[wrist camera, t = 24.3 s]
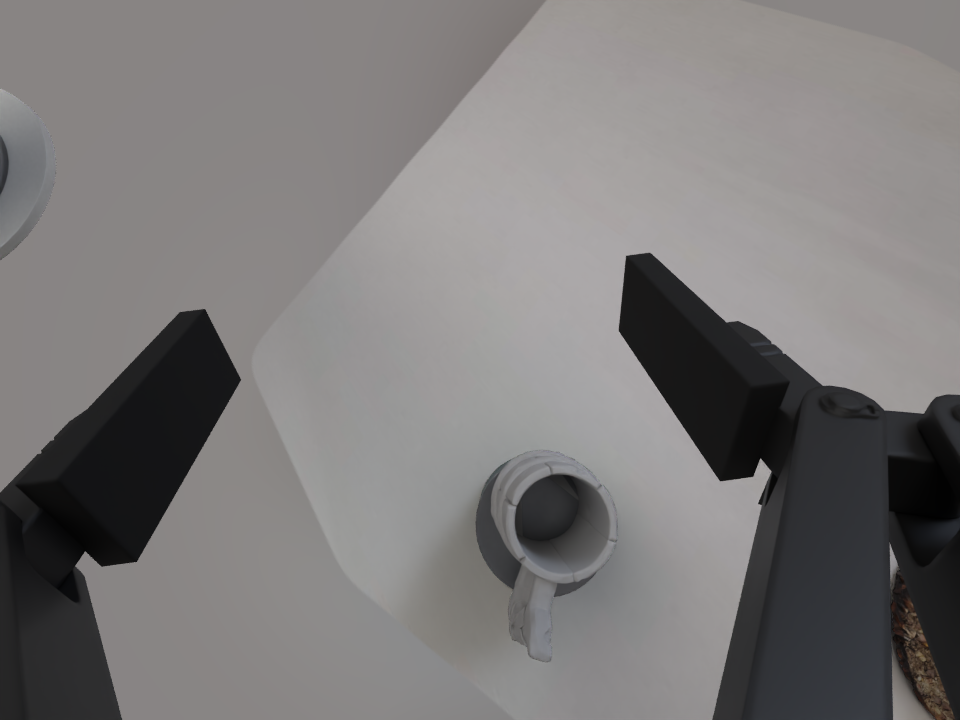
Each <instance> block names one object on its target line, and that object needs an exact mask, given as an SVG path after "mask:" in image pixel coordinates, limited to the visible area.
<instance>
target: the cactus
mask: <svg viewBox="0 0 960 720" xmlns="http://www.w3.org/2000/svg"><path fill="white" fill-rule="evenodd" d="M892 596H893V603H892V605H891V609H892V613H893V618H892V621H893V624H894V628H893V631H894V632H895V635H894V637H893V639H894V641H895V642H896V645H897V648H896V650H897V653H898V656H899V657H900V658H901V660H900V661H899V663H900V664H901V665H902V669H903V671H904V673H905V676H906V677H907V678H908V679H909V680H910V681H911V682H912V684H913V686H914V689H913V690H914V692H915V694H916V696H917V697H918V699H919V700H920V701H921V703H922V704H923V705H924V707H925V708H926V709H927V710H928V711H929V712H930V713H931V714H932V715H933V716H934V717H935V718H936V719H937V720H955V718H954V715H953V712H952V709H951V707H950V704H949V701H948V699H947V696H946V693H945V690H944V688H943V685H942V682H941V680H940V677H939V674H938V672H937V669H936V666H935V663H934V661H933V658H932V655H931V653H930V650H929V647H928V644H927V642H926V639H925V636H924V634H923V631H922V628H921V625H920V623H919V620H918V617H917V615H916V612H915V609H914V607H913V604H912V601H911V598H910V596H909V593H908V590H907V588H906V585H905V582H904V579H903V577H902V574H901V571H900V570H899V571H898V572H897V581H896V585H895V589H894V590H893V595H892Z"/></svg>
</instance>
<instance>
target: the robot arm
mask: <svg viewBox="0 0 960 720" xmlns="http://www.w3.org/2000/svg"><path fill="white" fill-rule="evenodd" d="M8 165H9V160H8V153H7V148H6V146H5V143H4V141H3V139H2V137H1V135H0V194H1V192H2V190H3V188H4V185H5V182H6V179H7V175H8ZM619 332H620V333H621V335H622V336H623V338H624V339H625V341H626V342H627V344H628V345H629V347H630V348H631V350H632V351H633V353H634V354H635V356H636V357H637V359H638V360H639V362H640V363H641V365H642V366H643V368H644V369H645V371H646V372H647V373H648V375H649V376H650V378H651V379H652V381H653V382H654V384H655V385H656V387H657V388H658V390H659V391H660V393H661V394H662V396H663V397H664V399H665V400H666V402H667V403H668V405H669V406H670V408H671V409H672V411H673V412H674V414H675V415H676V417H677V418H678V420H679V421H680V423H681V424H682V425H683V427H684V428H685V430H686V431H687V433H688V434H689V436H690V437H691V439H692V440H693V442H694V443H695V445H696V446H697V448H698V449H699V451H700V452H701V454H702V455H703V457H704V458H705V460H706V461H707V463H708V464H709V466H710V467H711V469H712V470H713V472H714V473H715V475H716V476H717V477H718V479H719V480H720V481H726V480H733V479H740V478H748V477H753V476H754V473H755V471H756V468H757V466H758V463H759V460H760V458H761V459H762V460H763V462H764V463H765V464H766V465H767V466H768V468H769V469H770V470H771V471H772V472H771V474H770V477H769V479H768V481H767V484H766V486H765V489H764V491H763V493H762V496H761V498H760V500H759V503H758V504H760V505H762V507H761V512H760V516H759V520H758V525H757V529H756V533H755V537H754V542H753V546H752V550H751V555H750V559H749V563H748V568H747V572H746V576H745V581H744V585H743V589H742V594H741V598H740V602H739V607H738V611H737V615H736V620H735V624H734V628H733V633H732V637H731V641H730V646H729V650H728V654H727V659H726V663H725V667H724V672H723V676H722V680H721V685H720V689H719V693H718V698H717V702H716V706H715V711H714V715H713V719H712V720H893V699H892V648H891V596H890V545H889V542H890V544H891V547H892V550H893V552H894V555H895V558H896V560H897V563H898V566H899V569H900V571H901V574H902V577H903V579H904V582H905V585H906V588H907V590H908V593H909V596H910V598H911V601H912V604H913V607H914V609H915V612H916V615H917V617H918V620H919V623H920V625H921V628H922V631H923V634H924V636H925V639H926V642H927V644H928V647H929V650H930V653H931V655H932V658H933V661H934V663H935V666H936V669H937V672H938V674H939V677H940V680H941V682H942V685H943V688H944V690H945V693H946V696H947V699H948V701H949V704H950V707H951V709H952V712H953V715H954V718H955V720H960V395H943V396H939V397H936V398H935V399H934V400H933V401H932V402H931V403H930V405H929V407H928V408H927V410H926V411H925V413H924V414H919V413H908V412H896V411H884V409H883V408H881V407H880V406H879V405H878V404H877V403H876V402H875V401H874V400H872V399H870V398H868V397H867V396H865V395H863V394H861V393H859V392H856V391H853V390H850V389H847V388H842V387H835V386H822V385H821V384H820V383H819V382H818V381H816V380H815V379H814V378H813V377H812V376H811V375H809V374H808V373H807V372H806V371H805V370H804V369H802V368H801V367H800V366H799V365H798V364H797V363H795V362H794V361H793V360H792V359H791V358H790V357H788V356H787V355H786V354H783V353H782V351H781V350H780V349H779V348H778V347H777V346H775V345H774V344H771V341H770V340H768V339H767V338H766V337H765V336H764V335H763V334H761V333H760V332H759V331H758V330H756V329H754V328H752V327H750V326H747V325H745V324H743V323H741V322H739V321H735V322H728V323H726V322H725V321H724V320H723V319H722V318H721V317H720V316H719V315H717V314H716V313H715V312H714V311H713V310H712V309H711V308H710V307H709V306H708V305H707V304H705V303H704V302H703V301H702V300H701V299H700V298H699V297H698V296H697V295H696V294H695V293H694V292H692V291H691V290H690V289H689V288H688V287H687V286H686V285H685V284H684V283H683V282H682V281H680V280H679V279H678V278H677V277H676V276H675V275H674V274H673V273H672V272H671V271H670V270H668V269H667V268H666V267H665V266H664V265H663V264H662V263H661V262H660V261H659V260H658V259H657V258H655V257H654V256H653V255H652V254H651V253H645V254H637V255H629V256H626V263H625V273H624V283H623V293H622V303H621V313H620V323H619ZM240 381H241V379H240V377H239V375H238V373H237V371H236V369H235V367H234V365H233V363H232V361H231V359H230V357H229V355H228V353H227V351H226V349H225V348H224V346H223V343H222V342H221V340H220V338H219V336H218V334H217V332H216V330H215V328H214V326H213V324H212V322H211V320H210V318H209V316H208V314H207V312H206V310H205V309H202V310H194V311H186V312H180V313H179V314H178V315H177V316H176V317H175V318H174V319H173V320H172V321H171V322H170V323H169V324H168V325H167V326H166V327H165V329H163V330H162V331H161V333H160V334H159V335H158V336H157V337H156V338H155V339H154V340H153V341H152V342H151V343H150V344H149V345H148V346H147V347H146V348H145V349H144V350H143V351H142V352H141V353H140V354H139V356H138V357H137V358H136V359H135V360H134V361H133V362H132V363H131V364H130V365H129V366H128V367H127V368H126V369H125V370H124V371H123V372H122V373H121V374H120V375H119V377H118V378H117V379H116V380H115V381H114V382H113V383H112V384H111V385H110V386H109V387H108V388H107V389H106V390H105V391H104V392H103V393H102V394H101V395H100V396H99V398H97V399H96V401H95V402H94V403H93V404H92V405H91V406H90V407H89V408H88V409H87V410H86V411H84V412H83V413H82V414H80V415H79V416H77V417H75V418H74V419H73V420H71V421H70V422H69V423H68V424H67V425H66V426H65V427H64V428H63V429H62V430H61V431H60V432H59V433H58V434H57V435H56V436H55V437H54V440H53V441H50V442H49V443H48V444H47V445H46V446H45V447H44V448H43V449H42V450H41V451H42V453H41V454H37V455H36V457H35V458H34V459H33V460H32V461H31V462H30V463H29V464H28V465H27V466H26V467H25V468H24V469H23V470H22V471H21V472H20V473H19V474H18V475H17V476H16V477H15V478H14V479H13V480H12V481H11V482H10V483H9V484H8V485H7V486H6V487H5V488H4V489H3V490H2V492H1V493H0V720H122V718H121V714H120V710H119V706H118V702H117V699H116V695H115V691H114V687H113V684H112V679H111V676H110V672H109V668H108V664H107V660H106V657H105V653H104V649H103V645H102V641H101V638H100V634H99V630H98V626H97V622H96V618H95V614H94V611H93V607H92V603H91V599H90V596H89V592H88V588H87V584H86V580H85V577H84V575H83V574H82V573H81V571H79V570H78V569H77V568H76V567H75V565H76V564H77V562H78V561H79V559H80V558H81V556H82V555H83V554H84V552H85V551H86V552H87V553H88V554H89V555H90V556H91V557H92V558H93V559H94V560H95V561H96V562H97V563H98V564H99V565H101V566H102V567H103V566H110V565H116V564H124V563H132V562H137V560H138V558H139V557H140V555H141V553H142V552H143V550H144V548H145V547H146V545H147V543H148V541H149V539H150V538H151V536H152V534H153V533H154V531H155V529H156V527H157V526H158V524H159V522H160V520H161V519H162V517H163V515H164V513H165V512H166V510H167V508H168V506H169V504H170V503H171V501H172V499H173V498H174V496H175V494H176V492H177V491H178V489H179V487H180V485H181V484H182V482H183V480H184V478H185V477H186V475H187V473H188V472H189V470H190V468H191V466H192V465H193V463H194V461H195V459H196V458H197V456H198V454H199V452H200V451H201V449H202V447H203V445H204V444H205V442H206V440H207V438H208V437H209V435H210V433H211V431H212V430H213V428H214V426H215V424H216V423H217V421H218V419H219V417H220V416H221V414H222V412H223V410H224V409H225V407H226V405H227V404H228V402H229V400H230V398H231V397H232V395H233V393H234V391H235V390H236V388H237V386H238V384H239V382H240Z"/></svg>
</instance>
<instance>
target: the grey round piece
mask: <svg viewBox="0 0 960 720" xmlns="http://www.w3.org/2000/svg"><path fill="white" fill-rule="evenodd" d="M511 460H512V459H511ZM509 461H510V460H509ZM509 461H507V462H506V463H504V464H502V465H501V466H500V467H499V468H497V469H496V470H495V471H494V472H493V474H492V475H491V476H490V477H489V479H488V480H487V482H486V484H485V486H484V488H483V491H482V494H481V498H480V501H479V504H478V509H477V514H476V535H477V541H478V544H479V548H480V551H481V553H482V556H483V558H484V560H485V561H486V563H487V565H488V567H489V568H490V569H491V570H492V572H493V573H494V574H495V575H496V576H497V577H498V578H499V579H500V580H501V581H502V582H503V583H505V584H506V585H507V586H509V587H510V588H512V589H514V587H515V581H516V579H517V577H518V574H519V571H520V568H521V565H522V564H521V563H520V562H519V561H518V560H517V559H516V558H515V557H514V556H513V555H512V554H511V553H510V551H509V550H508V548H507V547H506V545H505V543H504V541H503V539H502V537H501V535H500V533H499V531H498V529H497V527H496V525H495V522H494V519H493V517H492V515H491V495H492V490H493V487H494V484H495V482H496V479H497V477H498V476H499V473H500V472H501V470H502V469H503V468H504V467H505V466H506V464H507V463H508V462H509ZM563 476H564V478H565V479H566V481H567V482H568V483H569V485H570V486H571V488H572V489H573V490H574V492H575V493H576V495H577V496H578V492H577V489H576V486H575V484H574V482H573V480H572V479H571V478H570V476H569V475H563ZM521 504H522V531H523V536H524V537H526V538H528V539H531V540H536V541H545V540H548V541H549V540H550V539H554V538H557V537H559V536H560V535H562V534H563V533H565V532H566V531H567V530H568V529H569V528H570V527H571V525H572V524H573V522H574V520H575V517H576V515H577V514H578V513H577V510H578V505H579V500H577V499H576V498H575V497H574V496H572V495H571V494H570V493H568V492H567V491H566V490H565V489H563V488H562V487H561V486H560V485H558V484H557V483H556V482H555V481H553V480H552V479H551V478H550V477H548V476H547V477H544V478H542V479H540V480H538V481H536V482H535V483H534V484H532V485H531V486H530V487H529V488H528V489H527V490H526V491H525V493H524V494H523V495H522V497H521ZM594 575H595V573H594V574H593V575H591V576H590V577H588V578H584V579H581V580H580V581H579V582H576V581H574V582H571V583H557V587H556V591H555V594H554V597H557V596H562V595H565V594H568V593H570V592H572V591H574V590H577V589H578V588H580V587H581V586H583V585H584V584H586V583H587V582H588V581H589V580H590V579H591V578H592V577H593V576H594Z"/></svg>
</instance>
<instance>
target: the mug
mask: <svg viewBox="0 0 960 720" xmlns="http://www.w3.org/2000/svg"><path fill="white" fill-rule="evenodd" d="M563 475H569V476H570V478H571V479H572V480H573V482H574V484H575V486H576V489H577V492H578V496H577V495H576V493H575V492H574V490H573V489H572V488H571V486H570V485H569V483H568V482H567V481H566V479H565V478H564V476H563ZM547 476H548V477H550V478H551V479H552V480H553V481H555V482H556V483H557V484H558V485H560V486H561V487H562V488H563V489H565V490H566V491H567V492H568V493H570V494H571V495H572V496H574V497H575V498H576V499H577V500H579V505H578V510H577V513H578V514H577V515H576V517H575V520H574V522H573V524H572V525H571V527H570V528H569V529H568V530H567V531H566V532H565V533H563V534H562V535H560V536H559V537H557V538H554V539H550V540H549V541H548V540H545V541H536V540H531V539H528V538H526V537H524V536H523V531H522V504H521V497H522V495H523V494H524V493H525V491H526V490H527V489H528V488H529V487H530V486H531V485H532V484H534V483H535V482H536V481H538V480H540V479H542V478H544V477H547ZM491 515H492V517H493V519H494V522H495V525H496V527H497V529H498V531H499V533H500V535H501V537H502V539H503V541H504V543H505V545H506V547H507V548H508V550H509V551H510V553H511V554H512V555H513V556H514V557H515V558H516V559H517V560H518V561H519V562H520V563H521V564H522V565H521V568H520V571H519V574H518V577H517V579H516V581H515V587H514V589H513V592H512V594H511V597H510V601H509V608H508V615H509V620H510V623H509V630H510V635H511V638H512V640H514V641H517V642H518V643H520V644H522V645H525V646H526V647H527V649H528V655H529V656H530V657H531V658H533V659H536V660H539V661H543V662H549V661H551V658H552V646H551V645H550V641H551V633H552V621H551V605H552V601H553V597H554V594H555V591H556V587H557V583H571V582H574V581H576V582H579V581H580V580H581V579H584V578H588V577H590V576H591V575H593V574H594V573H596V572H597V571H598V570H600V569H601V568H602V567H603V566H604V565H605V564H606V562H607V561H608V560H609V558H610V556H611V555H612V553H613V551H614V548H615V545H616V543H615V542H616V541H617V537H618V533H617V530H618V525H617V514H616V509H615V505H614V503H613V500H612V498H611V496H610V494H609V492H608V491H607V489H606V488H605V487H604V486H603V485H602V484H601V482H600V481H599V480H598V479H597V478H596V477H595V476H594V475H593V474H592V473H591V472H590V471H589V470H588V469H587V468H585V467H584V466H582V465H581V464H579V463H578V462H576V461H575V460H574V459H572V458H570V457H565V456H564V455H563V454H562V453H559V452H552V451H547V450H536V451H530V452H526V453H524V454H521V455H519V456H517V457H516V458H514V459H512V460H510V461H509V462H508V463H507V464H506V466H505V467H504V468H503V469H502V470H501V472H500V473H499V476H498V477H497V479H496V482H495V484H494V487H493V490H492V495H491ZM614 541H615V542H614Z"/></svg>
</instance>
